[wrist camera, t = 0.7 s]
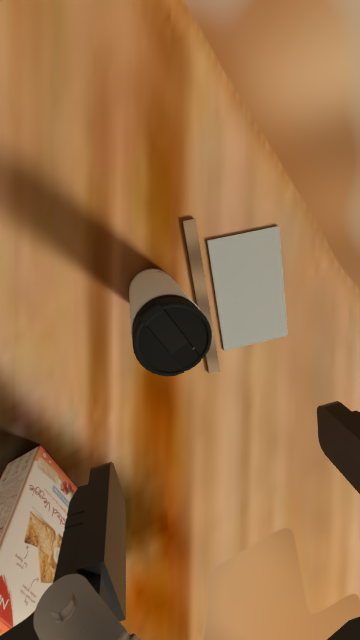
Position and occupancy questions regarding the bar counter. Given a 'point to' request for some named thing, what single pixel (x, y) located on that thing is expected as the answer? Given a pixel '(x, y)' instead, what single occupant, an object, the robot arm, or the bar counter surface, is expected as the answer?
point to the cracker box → (30, 532)
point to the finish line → (200, 286)
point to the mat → (249, 287)
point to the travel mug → (166, 325)
